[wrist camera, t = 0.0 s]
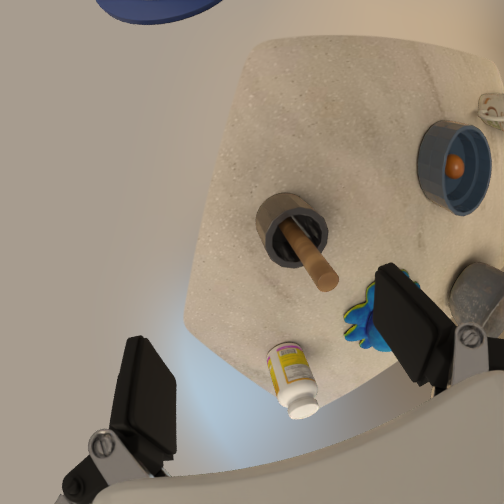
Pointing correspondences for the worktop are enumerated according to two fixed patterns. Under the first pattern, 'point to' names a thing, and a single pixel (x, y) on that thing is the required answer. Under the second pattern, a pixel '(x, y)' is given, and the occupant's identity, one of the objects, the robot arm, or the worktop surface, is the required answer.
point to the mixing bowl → (473, 156)
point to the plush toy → (366, 323)
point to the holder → (273, 237)
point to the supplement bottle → (293, 380)
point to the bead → (454, 166)
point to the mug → (492, 110)
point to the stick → (309, 256)
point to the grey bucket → (479, 298)
